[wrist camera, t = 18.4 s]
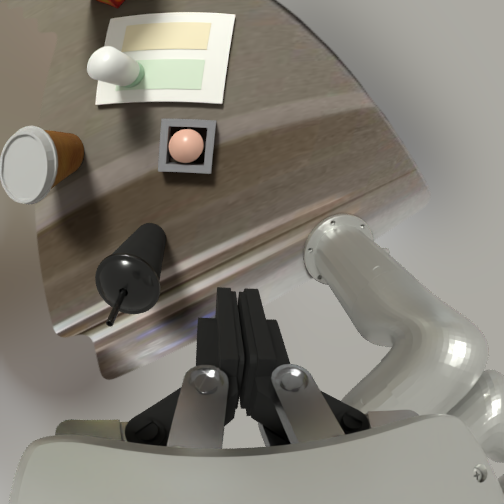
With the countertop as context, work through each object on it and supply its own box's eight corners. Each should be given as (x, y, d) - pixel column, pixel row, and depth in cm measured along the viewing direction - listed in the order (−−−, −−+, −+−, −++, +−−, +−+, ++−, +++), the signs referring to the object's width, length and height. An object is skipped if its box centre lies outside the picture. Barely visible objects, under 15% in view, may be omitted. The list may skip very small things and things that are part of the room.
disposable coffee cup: (66, 110, 29) (19, 111, 18) (105, 148, 33) (64, 159, 22) (35, 159, 31) (-12, 175, 20) (71, 196, 35) (28, 223, 24)
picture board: (234, 16, 27) (235, 14, 26) (222, 104, 33) (222, 103, 32) (112, 20, 24) (110, 18, 23) (97, 105, 30) (95, 104, 29)
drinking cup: (182, 225, 40) (158, 308, 22) (165, 267, 42) (140, 362, 24) (135, 206, 37) (77, 274, 19) (122, 250, 40) (71, 335, 22)
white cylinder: (144, 58, 27) (119, 42, 19) (144, 84, 29) (119, 74, 21) (117, 65, 27) (87, 52, 19) (117, 90, 29) (87, 84, 21)
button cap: (205, 129, 34) (204, 130, 32) (202, 161, 36) (201, 163, 33) (173, 128, 33) (170, 128, 31) (170, 160, 35) (167, 162, 33)
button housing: (216, 121, 34) (216, 120, 32) (211, 170, 37) (210, 173, 35) (165, 119, 33) (161, 118, 31) (161, 168, 36) (158, 171, 33)
